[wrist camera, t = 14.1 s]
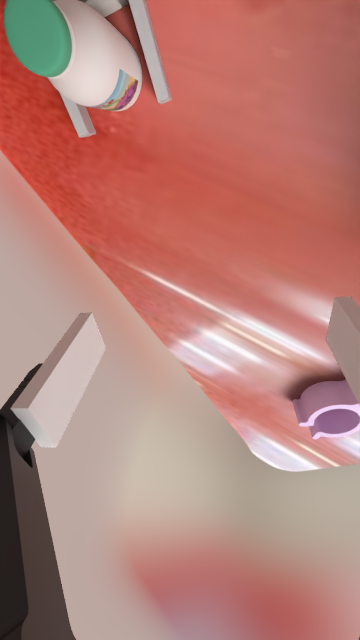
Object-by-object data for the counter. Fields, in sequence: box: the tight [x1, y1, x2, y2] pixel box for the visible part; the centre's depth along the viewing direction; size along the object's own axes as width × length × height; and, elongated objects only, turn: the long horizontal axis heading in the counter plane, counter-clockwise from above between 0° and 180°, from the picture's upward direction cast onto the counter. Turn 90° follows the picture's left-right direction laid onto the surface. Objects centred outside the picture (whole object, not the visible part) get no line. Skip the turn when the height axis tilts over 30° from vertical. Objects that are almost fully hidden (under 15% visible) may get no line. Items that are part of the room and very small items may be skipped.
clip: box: [292, 380, 360, 439], centre depth 63 cm, size 20×12×7 cm, turn 133°
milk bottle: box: [4, 0, 142, 111], centre depth 28 cm, size 8×8×20 cm
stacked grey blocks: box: [5, 0, 172, 137], centre depth 28 cm, size 14×21×11 cm, turn 18°
